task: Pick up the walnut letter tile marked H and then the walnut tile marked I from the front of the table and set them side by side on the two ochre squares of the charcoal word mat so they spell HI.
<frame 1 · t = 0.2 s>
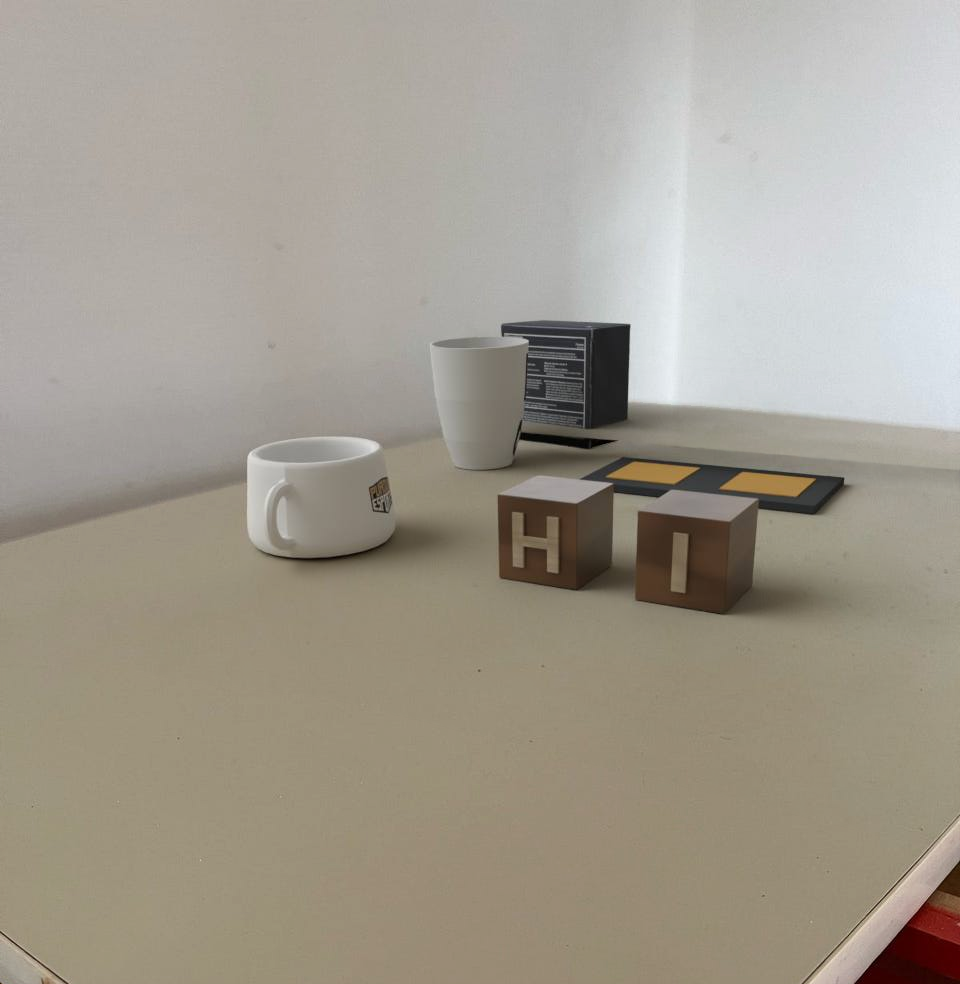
H tile: (556, 571, 61), on the table
small box: (565, 440, 96), on the table
word mat: (708, 486, 78), on the table
I tile: (694, 592, 57), on the table
cup: (482, 465, 88), on the table
mug: (316, 547, 67), on the table
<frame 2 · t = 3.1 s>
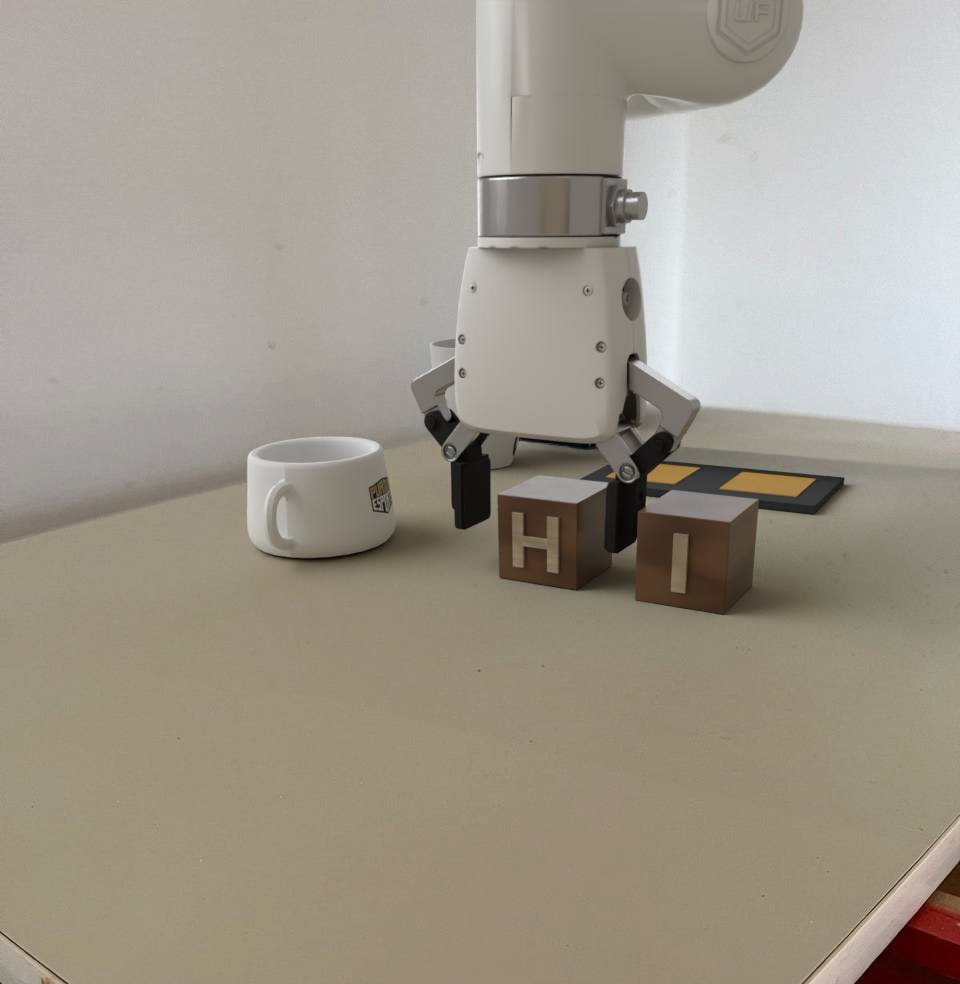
hand: (544, 535, 60), 2 cm above the table, tool pointing down, fingers open, 9 cm apart
I tile: (694, 593, 57), on the table, touching gripper
everything else where it was.
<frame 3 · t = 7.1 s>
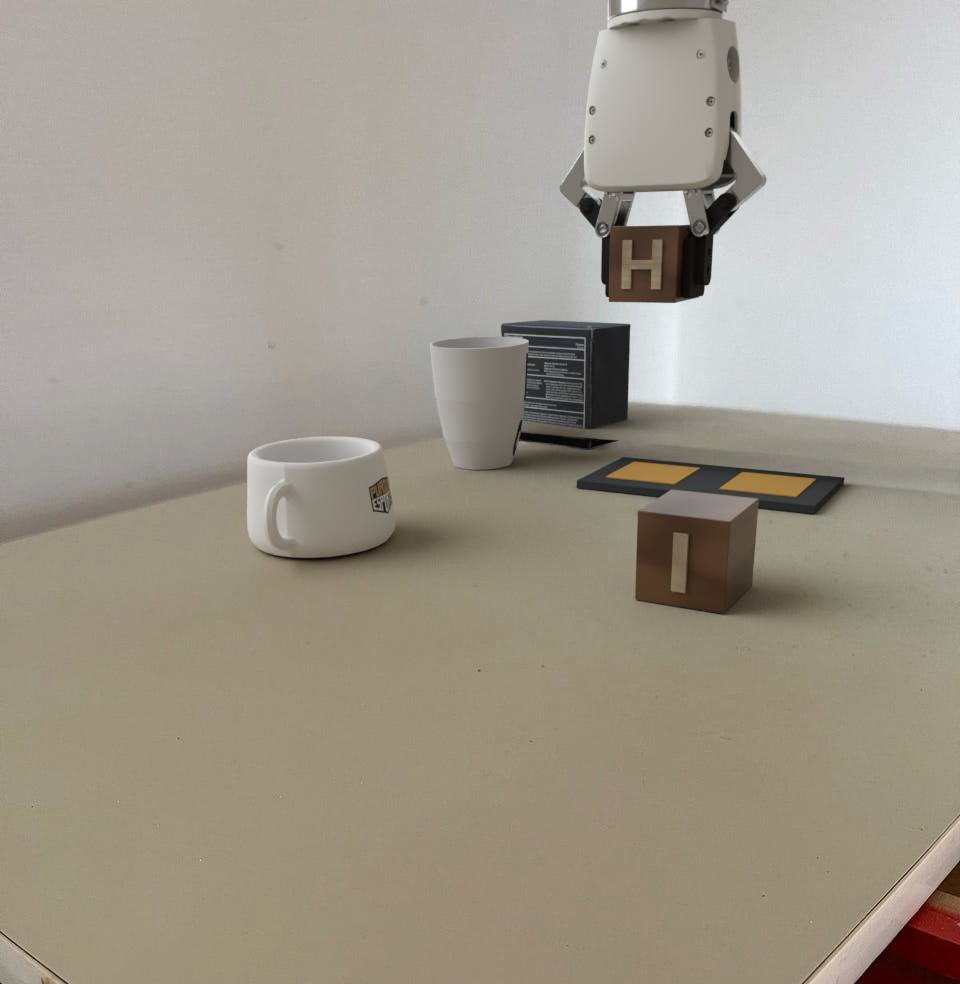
hand: (654, 293, 74), 14 cm above the table, tool pointing down, fingers closed on H tile, 5 cm apart
H tile: (654, 299, 74), point 14 cm above the table, touching gripper
I tile: (694, 592, 57), on the table
everything else where it was.
when the fingers open (1 cm above the table, at t = 10.4 s): H tile stays where it is, resting on word mat.
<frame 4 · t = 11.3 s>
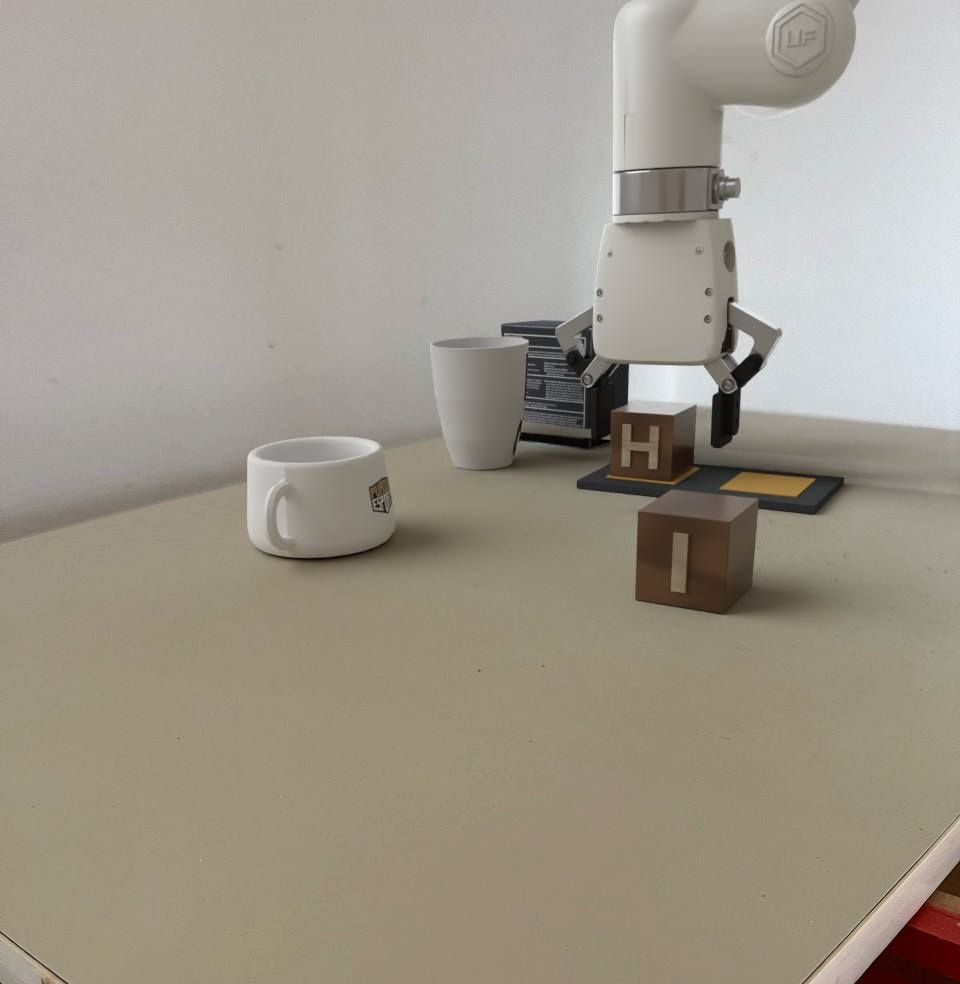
hand: (660, 440, 79), 3 cm above the table, tool pointing down, fingers open, 9 cm apart
H tile: (651, 472, 80), point 1 cm above the table, touching word mat
everything else where it was.
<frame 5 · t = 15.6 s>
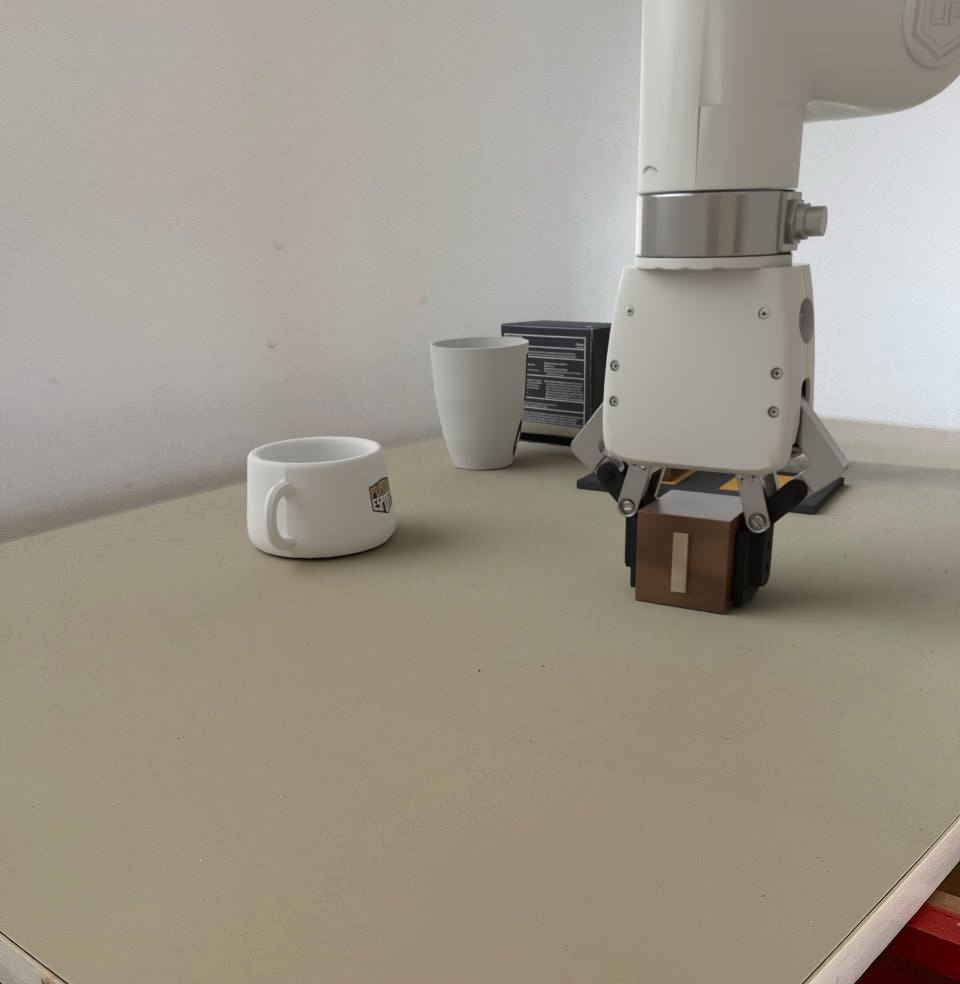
hand: (694, 585, 57), 0 cm above the table, tool pointing down, fingers closed on I tile, 5 cm apart
I tile: (694, 592, 57), on the table, touching gripper
everything else where it was.
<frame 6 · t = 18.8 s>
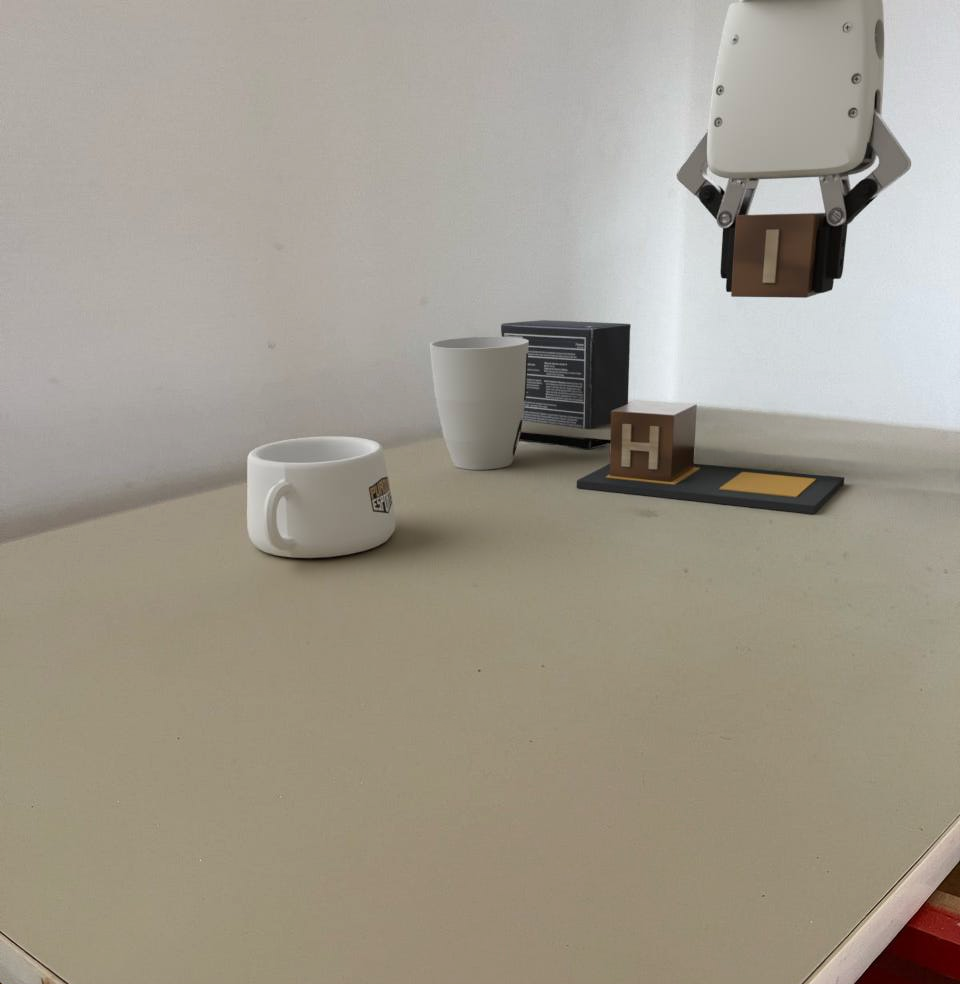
hand: (779, 287, 69), 15 cm above the table, tool pointing down, fingers closed on I tile, 5 cm apart
I tile: (778, 294, 69), point 14 cm above the table, touching gripper
everything else where it was.
when the fingers open (1 cm above the table, at t = 22.3 s): I tile stays where it is, resting on word mat.
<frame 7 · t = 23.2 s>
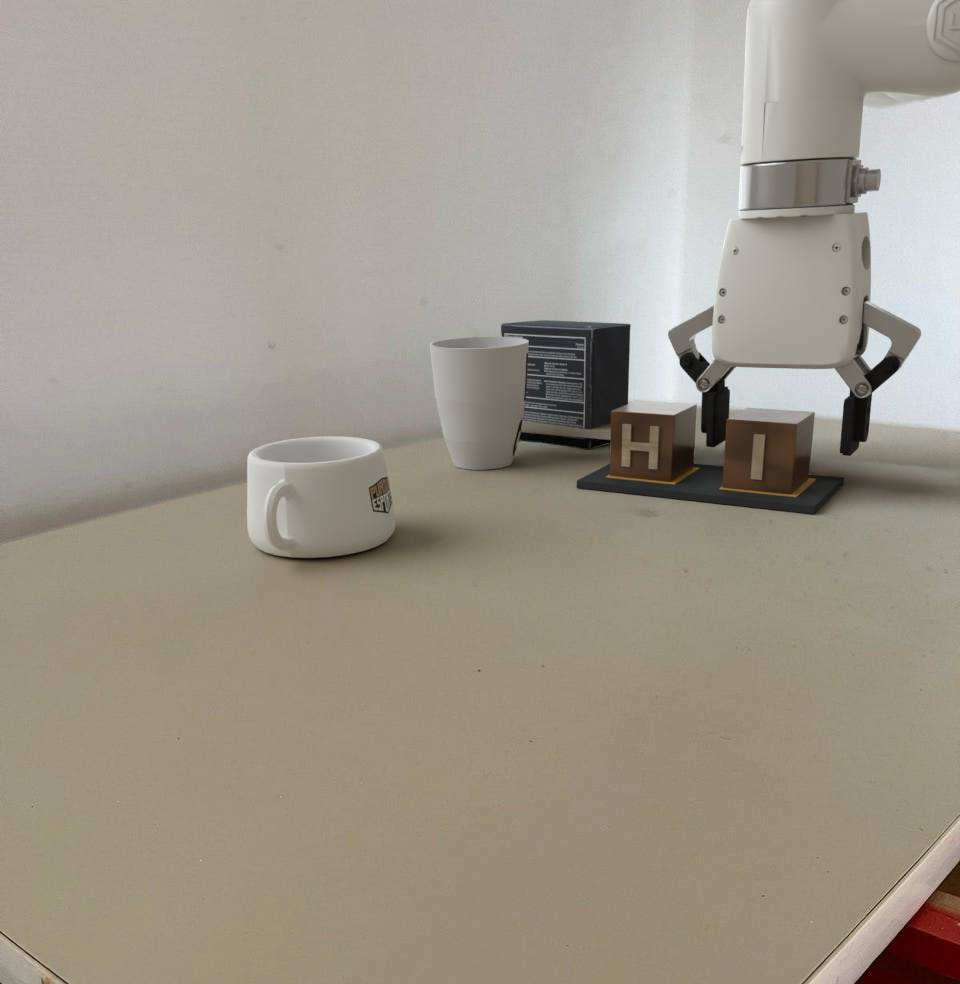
hand: (781, 447, 75), 3 cm above the table, tool pointing down, fingers open, 9 cm apart
I tile: (765, 483, 76), point 1 cm above the table, touching word mat
everything else where it was.
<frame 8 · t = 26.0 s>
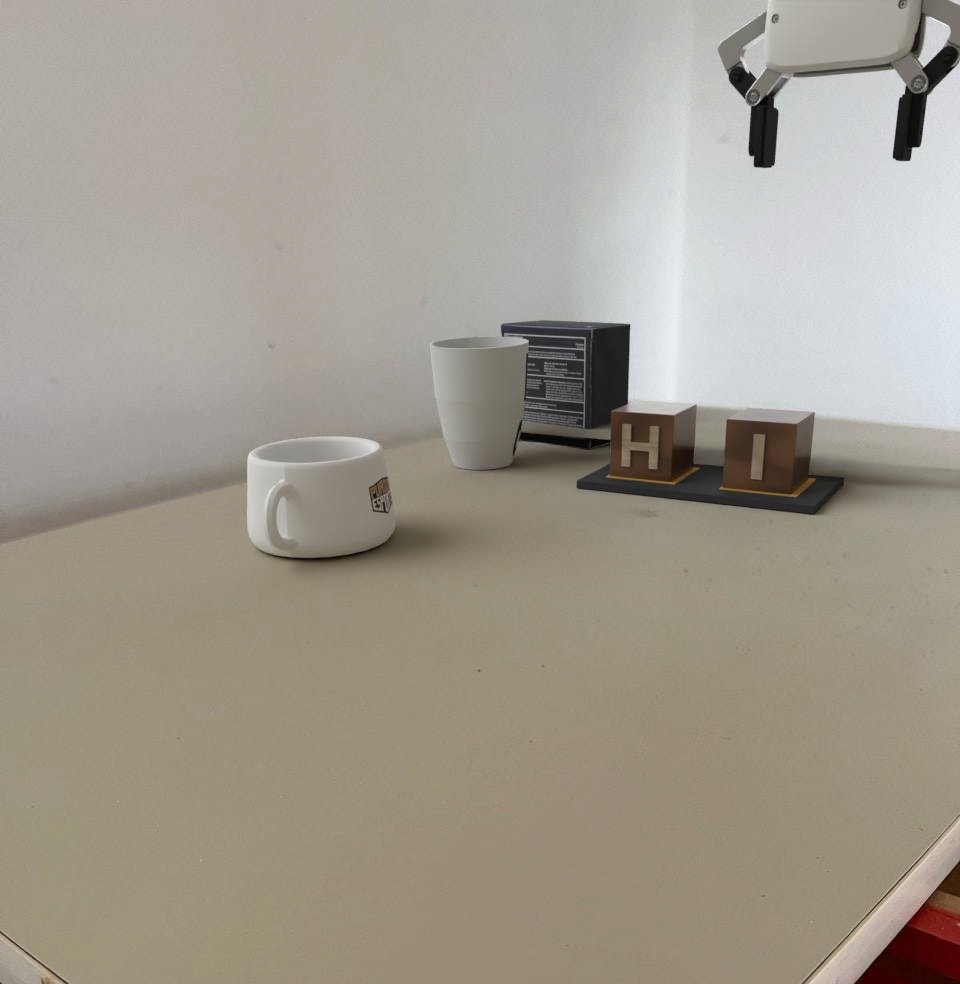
hand: (830, 164, 74), 22 cm above the table, tool pointing down, fingers open, 9 cm apart
nothing on the table moved.
at the end: H tile 0.1 cm from the target spot on the word mat, point 0.7 cm above the word mat's base; I tile 0.2 cm from the target spot on the word mat, point 0.7 cm above the word mat's base; I tile tilted 0° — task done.
